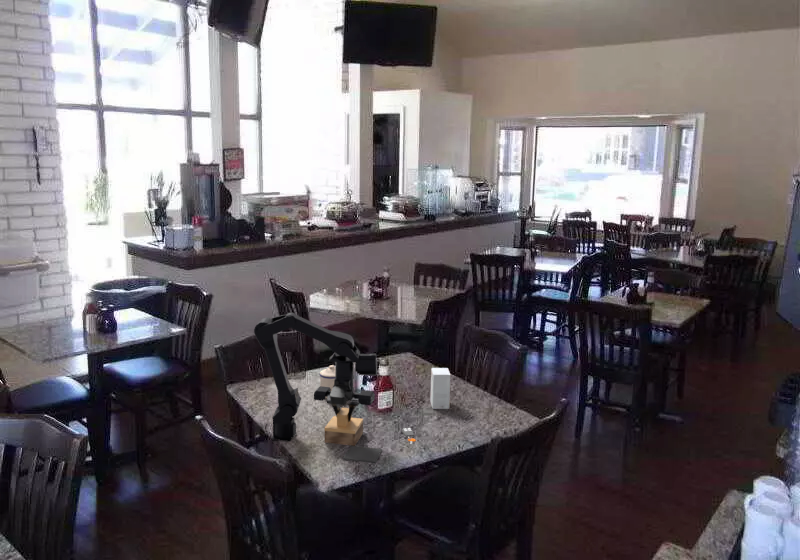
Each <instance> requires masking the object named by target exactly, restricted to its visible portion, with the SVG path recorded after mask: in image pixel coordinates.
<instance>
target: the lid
mask: <svg viewBox="0 0 800 560" xmlns="http://www.w3.org/2000/svg"><path fill="white" fill-rule="evenodd" d="M348 414H349V407H341V408H340V411H339V413H338V414H337V417H336V415H333V416H332V417H331V418H330V420H329V421H328V422H327V424H326V425H325V426H324V432H325V431H332V432H341V433H351V434H355V433H356V432H357V430H358V429H359V427H360V426H361V424H362V423H363V424H364V418H359V417H351V420H350V422H348Z"/></svg>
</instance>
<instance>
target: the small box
mask: <svg viewBox="0 0 800 560" xmlns="http://www.w3.org/2000/svg"><path fill="white" fill-rule="evenodd" d="M430 371H431V372H430V374H431V375H430V404H431V409H433V410H449V409H450V405H451V404H450V403H451V399H450V397H451V376H452V374H451V373H450V370H449V368H448V367H431V370H430Z"/></svg>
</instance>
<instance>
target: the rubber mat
mask: <svg viewBox="0 0 800 560" xmlns="http://www.w3.org/2000/svg"><path fill="white" fill-rule="evenodd" d="M382 451H383V448H377V447H370V446H359V445H355V446H352V445H349V448H348V449H347V451H346V453H344V456H343V457H342V459H343V460H344V461H352V462H353V461H354V462H362V463H370V464H371V463H372V464H376V463H377V461H378V459H379V457H380V456H381V453H382Z"/></svg>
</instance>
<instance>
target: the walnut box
mask: <svg viewBox="0 0 800 560" xmlns="http://www.w3.org/2000/svg"><path fill="white" fill-rule="evenodd" d="M363 434H364V422H363V423H362V424H361V426H360V427H359V429H358V430H357V432H356V433H355V434H351V433H341V432H332V431H325V430H324V443H325V444H335V445H343V446H344V445H345V446H351V445H352V446H357V443H358V442H359V440H360V439H361V437H362V436H363Z"/></svg>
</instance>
